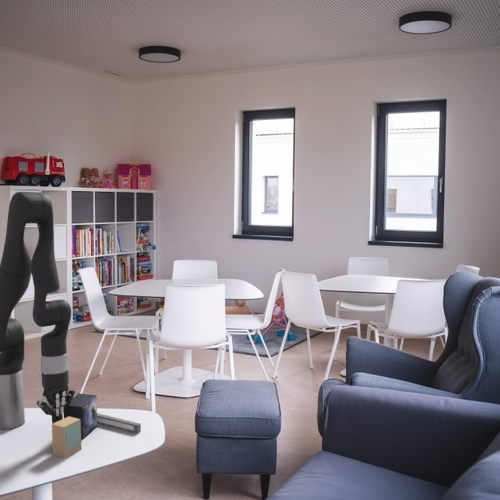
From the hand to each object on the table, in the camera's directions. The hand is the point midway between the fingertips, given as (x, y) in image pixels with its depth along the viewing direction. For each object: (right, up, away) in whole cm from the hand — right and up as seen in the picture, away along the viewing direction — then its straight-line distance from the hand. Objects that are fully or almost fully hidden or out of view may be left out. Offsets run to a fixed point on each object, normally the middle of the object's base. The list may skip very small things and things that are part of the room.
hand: (57, 426), depth 192 cm
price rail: (+13, -3, +14) cm, 19 cm away
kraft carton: (+4, -6, -5) cm, 9 cm away
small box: (+5, -4, +9) cm, 11 cm away
